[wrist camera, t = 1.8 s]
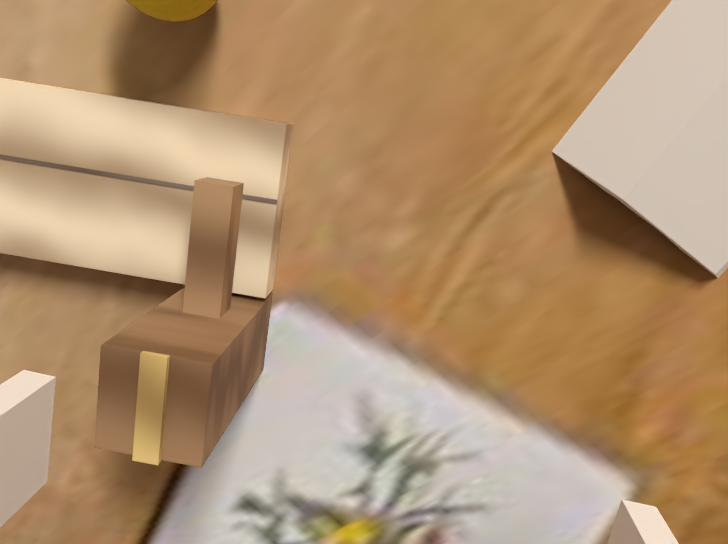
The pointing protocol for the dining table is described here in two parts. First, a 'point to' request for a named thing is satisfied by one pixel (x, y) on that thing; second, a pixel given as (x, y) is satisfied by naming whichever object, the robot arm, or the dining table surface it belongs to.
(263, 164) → the board
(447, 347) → the dining table surface
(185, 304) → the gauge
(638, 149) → the crown molding
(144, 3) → the lemon
